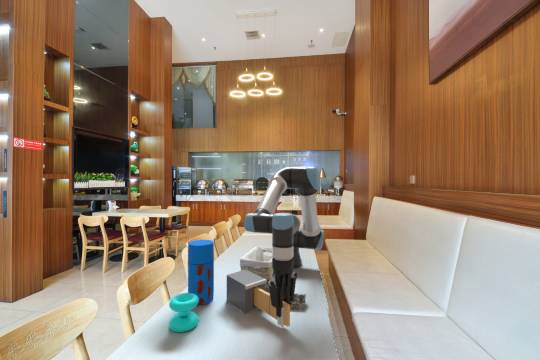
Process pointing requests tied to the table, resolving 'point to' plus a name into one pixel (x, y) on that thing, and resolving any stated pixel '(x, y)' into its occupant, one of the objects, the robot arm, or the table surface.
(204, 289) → the thermos
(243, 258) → the storage basket
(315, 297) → the table surface
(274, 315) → the ticket
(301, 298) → the egg carton
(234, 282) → the box
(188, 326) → the turquoise hourglass spool
